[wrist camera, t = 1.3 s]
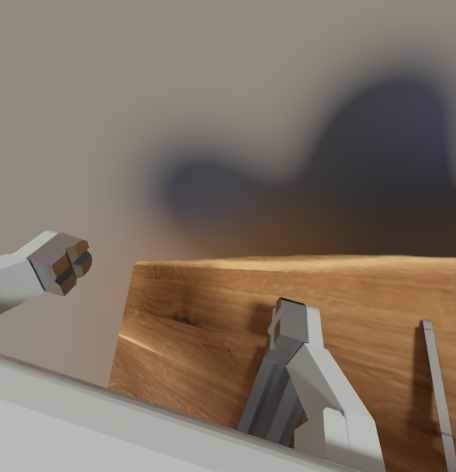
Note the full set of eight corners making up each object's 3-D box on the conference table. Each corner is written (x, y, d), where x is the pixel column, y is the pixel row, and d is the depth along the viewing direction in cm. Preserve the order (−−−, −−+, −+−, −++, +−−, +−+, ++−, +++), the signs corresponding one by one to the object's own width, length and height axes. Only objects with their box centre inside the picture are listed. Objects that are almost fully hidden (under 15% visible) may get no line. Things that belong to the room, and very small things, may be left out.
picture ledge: (315, 380, 43) (307, 387, 40) (278, 474, 45) (267, 488, 42) (270, 347, 50) (260, 351, 47) (239, 430, 52) (227, 439, 49)
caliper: (462, 487, 31) (468, 524, 26) (451, 482, 31) (455, 518, 27) (431, 320, 35) (432, 326, 30) (421, 319, 36) (421, 325, 31)
